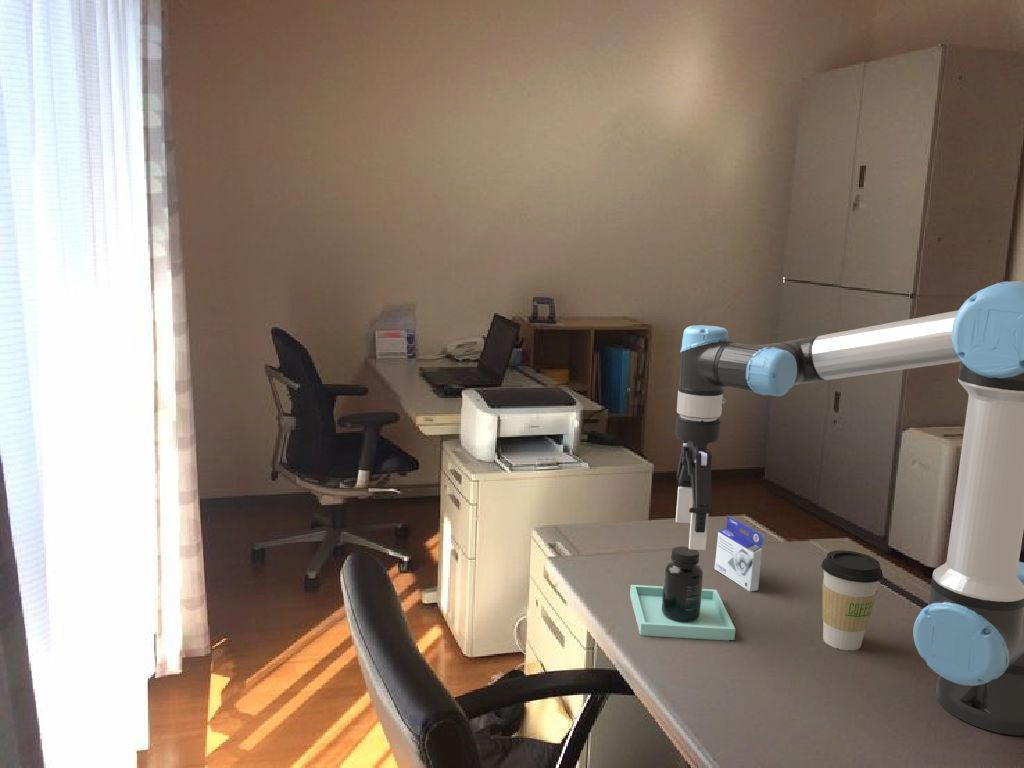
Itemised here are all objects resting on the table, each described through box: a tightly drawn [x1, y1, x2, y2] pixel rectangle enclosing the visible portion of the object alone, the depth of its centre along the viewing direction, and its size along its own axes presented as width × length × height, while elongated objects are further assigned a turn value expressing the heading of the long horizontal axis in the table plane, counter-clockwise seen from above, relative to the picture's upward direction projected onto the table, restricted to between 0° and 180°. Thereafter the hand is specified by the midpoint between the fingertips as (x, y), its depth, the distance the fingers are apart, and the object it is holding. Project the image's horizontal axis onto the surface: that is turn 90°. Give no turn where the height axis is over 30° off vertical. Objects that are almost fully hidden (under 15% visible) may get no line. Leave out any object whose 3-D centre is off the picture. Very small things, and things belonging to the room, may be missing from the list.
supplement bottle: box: [662, 546, 704, 622], centre depth 161 cm, size 7×7×12 cm
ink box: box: [713, 515, 766, 593], centre depth 179 cm, size 12×2×12 cm, turn 25°
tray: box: [629, 584, 736, 641], centre depth 163 cm, size 16×16×2 cm
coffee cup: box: [820, 549, 884, 651], centre depth 155 cm, size 10×10×15 cm
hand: (689, 535), depth 159 cm, fingers open, 13 cm apart
